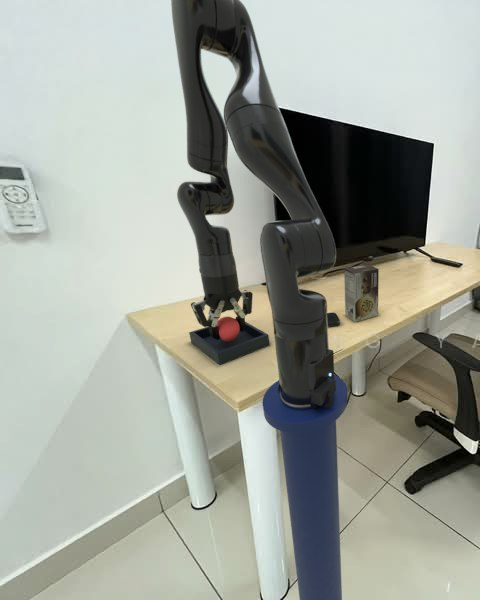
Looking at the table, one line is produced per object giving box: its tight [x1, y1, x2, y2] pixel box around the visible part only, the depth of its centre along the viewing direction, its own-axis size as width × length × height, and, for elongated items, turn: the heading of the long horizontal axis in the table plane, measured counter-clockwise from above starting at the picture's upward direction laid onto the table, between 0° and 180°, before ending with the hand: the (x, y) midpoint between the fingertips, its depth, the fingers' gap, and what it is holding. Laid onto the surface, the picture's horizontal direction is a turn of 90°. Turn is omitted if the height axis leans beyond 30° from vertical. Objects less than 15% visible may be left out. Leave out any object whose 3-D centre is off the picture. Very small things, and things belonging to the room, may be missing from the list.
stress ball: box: [217, 316, 240, 342], centre depth 80 cm, size 5×9×6 cm, turn 26°
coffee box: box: [343, 264, 380, 323], centre depth 99 cm, size 9×6×16 cm
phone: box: [327, 312, 341, 328], centre depth 94 cm, size 8×1×15 cm
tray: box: [188, 317, 271, 366], centre depth 80 cm, size 16×13×3 cm
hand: (229, 334), depth 80 cm, fingers closed on stress ball, 5 cm apart
